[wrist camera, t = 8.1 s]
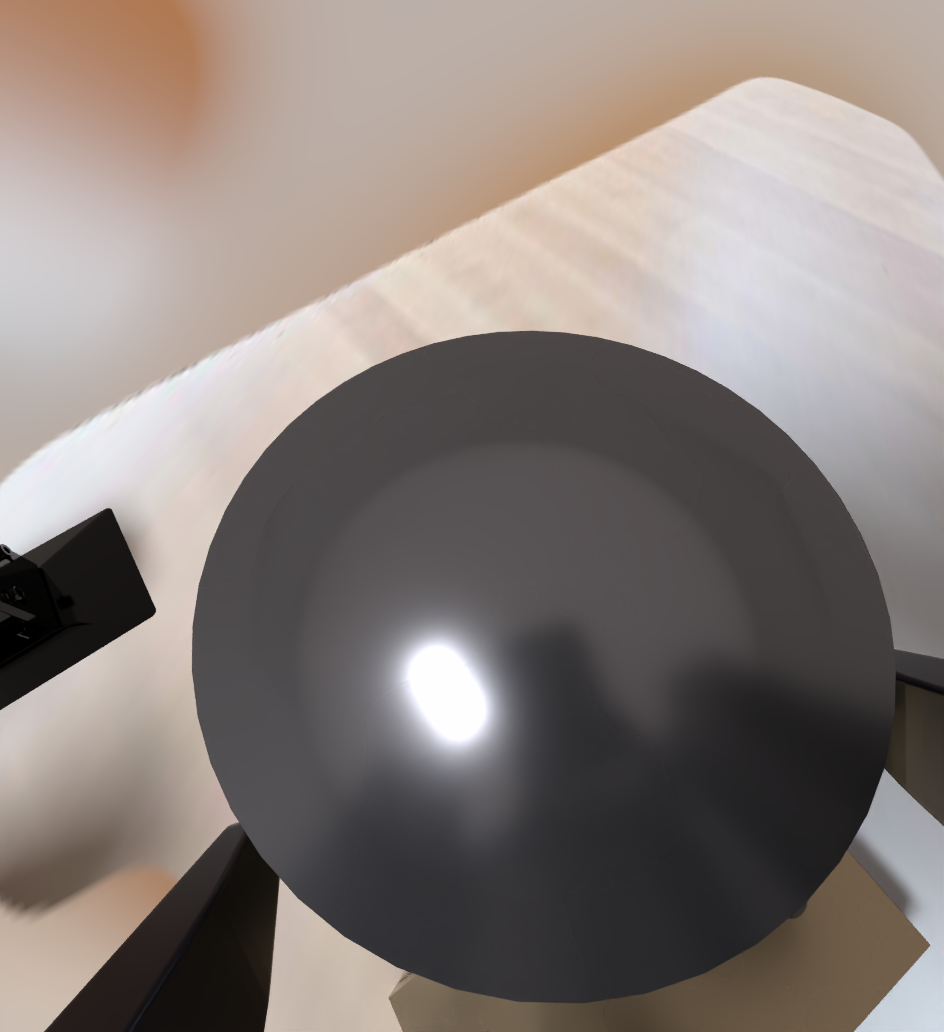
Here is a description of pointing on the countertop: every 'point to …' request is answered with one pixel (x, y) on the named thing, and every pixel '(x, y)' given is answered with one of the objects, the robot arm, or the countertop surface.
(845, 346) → the countertop surface
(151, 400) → the countertop surface
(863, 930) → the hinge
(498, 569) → the hinge pin
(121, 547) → the black notched mount
